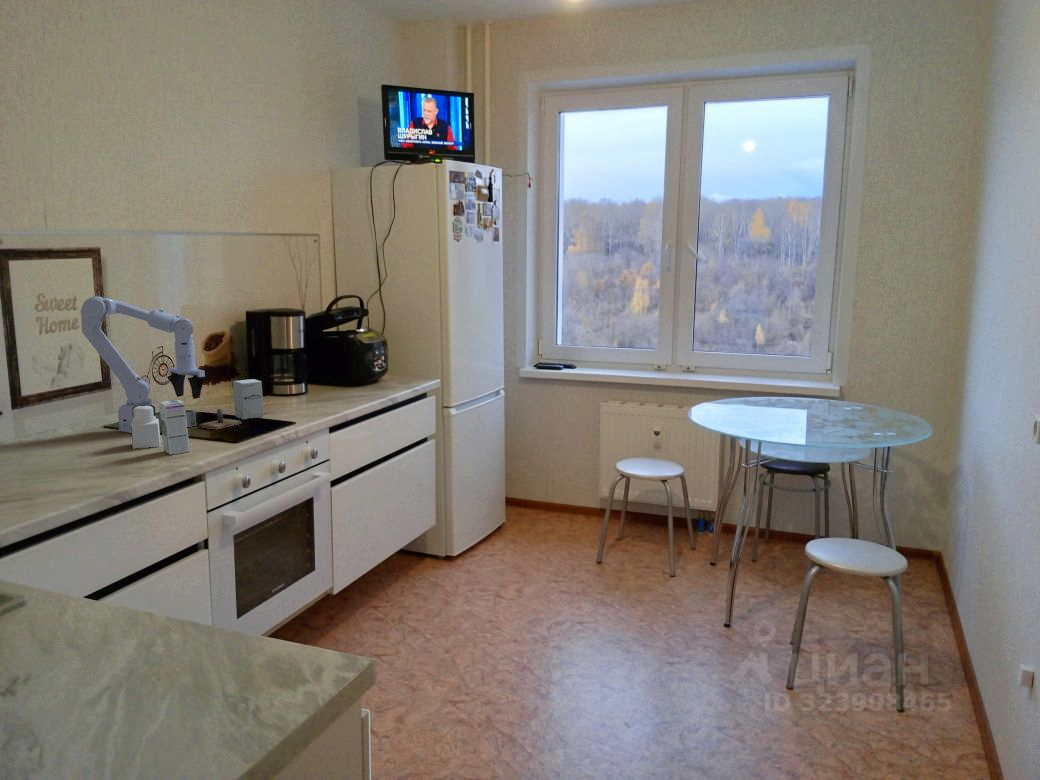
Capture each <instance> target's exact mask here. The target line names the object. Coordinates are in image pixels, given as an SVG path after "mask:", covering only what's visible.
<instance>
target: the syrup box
mask: <svg viewBox="0 0 1040 780" xmlns="http://www.w3.org/2000/svg"><path fill="white" fill-rule="evenodd" d="M158 403H159V414H160V415H159V416H160V424H161V433H162V434H161V435H162V436H161V437H162V444H163V446H162V447H163V451H164V452H165V453H166V454H167V455H169V456H173V455H178V454H185V453H189V452H190V441H189V432H188V428H187V420H186V410H187V409H186V403H185V402H183V400H181V399H172V400H165V401H159V402H158ZM172 454H173V455H172Z"/></svg>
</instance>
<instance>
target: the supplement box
mask: <svg viewBox="0 0 1040 780" xmlns="http://www.w3.org/2000/svg"><path fill="white" fill-rule="evenodd" d="M232 383H233V401H234V402H233V404H234V417H236V418H238V419H240V418H241V420H243V419H244V420H248V419H249V418H250V419H258V418H263V417H264V401H263V384H262V381H261V380H258V379H254V378H252V379H251V378H250V379H243V380H242V379H241V380H234V381H233V380H232Z"/></svg>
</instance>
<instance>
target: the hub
mask: <svg viewBox="0 0 1040 780" xmlns="http://www.w3.org/2000/svg"><path fill="white" fill-rule="evenodd" d="M185 410H186V420H187V427H191V428H193V427H192V426H197V421H196V419H197V417H196V410H194V409H185Z"/></svg>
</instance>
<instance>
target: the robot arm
mask: <svg viewBox="0 0 1040 780" xmlns="http://www.w3.org/2000/svg"><path fill="white" fill-rule="evenodd" d="M115 314H122V315H125V316H128V317H132V318H135V319H138V320H141V321H146V323H147V324H148V326H149V327H151V328H153V329H156V330H160V331H163V332H167V333H170V334H171V333H174V339H175V340H174V351H175V352H174V354H175V367H168V371H167V372H168V376H167V379H168V380H169V382H170V383H171V385H172V387H173V390H174V392H175V395H176V397H178V398H180V397H184V395H185V394H184V393H185V390H184V389H185V388H184V387H185V385H184V384H185V379H186V376H189V377H187V382H188V383H189V385H190V389H191V396H192V399H194V400H195V399H200V398H201V393H202V388H203V385H204V383H205V381H206V379H207V376H206V374H205V370H204V369H203V370H202V369H199V368H198V367H197V366H196V357H195V356H196V355H195V341H194V335H193V332H194V326H193V322H192V321H191V320H189V319H188V318H186V317H180V315H179V314H175V315H174V314H171V313H168V312H165V310H164V309H163V308H159V309H153V310H151V311H148V310H146V309H143V308H140V307H137V306H135V305H133V304H129V303H127V302H125V301H121V300H117V299H113V298H109V297H106V298H105V297H103V296H100V295H94V296H92V297H88V298H87V299H85V301H84V302H83V304H82V306H81V309H80V317H81V318H80V321H81V332H82V334H83V336H85V338H86V339H87V340H88V342H89V343H90V345H91V346H92V347H93V348H94V349H95V351H96V352H97V354H98V355H99V356H100V358H102V360H103V361H104V362H105V364H106V365H107V366H108V367H109V369H110V370H111V372H113V374H114V375H115V376H116V377H117V379H118V381H119V382H120V385H121V386H122V388H123V389H124V391H125V396H126V398H127V399H126V401H125V402H126V403H125V404H123V405H120V406H119V408H118V410H117V415H118V425H119V428H118V432H123V433H128V434H131V424H132V421H133V413H132V408H133V407H135V406H137V405H144V404H150V405H153V404H152V399H151V398H150V397H149V393H150V390H151V389H150V385H149V384H150V383H148V382H147V380H144V379H142V378H141V377H140V376H139V375H138V374H137V373H136V372H135V371H134V370H133V369H132V367H130V365H129V363H127V361H126V360H125V358H123V356H122V355H121V354H120V353H119V351H118V350H117V348H116V346H114V345H113V343H112V341H110V339H109V338H108V337H107V335H106V334H105V333H104V331H103V330H102V325H103V322H104V321H103V320H104V318H105V316H106V315H108V316H109V315H115ZM160 427H161V426H160V425H159V429H160Z"/></svg>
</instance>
